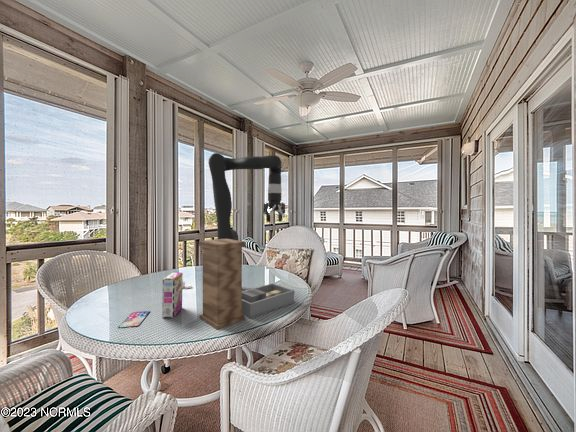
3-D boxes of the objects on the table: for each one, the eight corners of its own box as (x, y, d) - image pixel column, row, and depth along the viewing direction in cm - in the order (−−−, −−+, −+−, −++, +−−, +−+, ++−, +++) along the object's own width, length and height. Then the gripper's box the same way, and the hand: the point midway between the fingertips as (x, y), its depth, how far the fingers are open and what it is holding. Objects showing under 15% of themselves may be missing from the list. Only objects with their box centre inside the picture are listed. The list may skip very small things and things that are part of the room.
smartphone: (116, 327, 99) (132, 312, 113) (116, 329, 99) (132, 313, 113) (138, 326, 100) (151, 310, 115) (138, 327, 100) (151, 312, 115)
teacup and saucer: (193, 288, 149) (193, 281, 149) (181, 291, 142) (181, 284, 142) (184, 285, 154) (184, 278, 154) (171, 289, 147) (171, 281, 147)
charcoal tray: (250, 318, 108) (250, 304, 108) (229, 307, 120) (229, 294, 119) (294, 302, 126) (294, 290, 126) (272, 294, 138) (272, 283, 138)
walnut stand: (216, 329, 98) (216, 244, 97) (199, 317, 108) (199, 241, 107) (245, 319, 108) (245, 241, 106) (226, 309, 118) (226, 238, 116)
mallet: (251, 310, 114) (252, 296, 114) (241, 305, 120) (241, 292, 120) (285, 299, 128) (285, 287, 128) (274, 295, 134) (274, 283, 134)
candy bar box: (174, 318, 108) (174, 278, 108) (162, 318, 108) (161, 278, 107) (183, 307, 119) (182, 271, 119) (171, 307, 119) (171, 272, 118)
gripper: (279, 193, 153) (279, 220, 154) (260, 192, 143) (260, 221, 144) (288, 192, 148) (288, 221, 148) (269, 191, 138) (269, 222, 138)
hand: (274, 221), depth 146 cm, fingers open, 8 cm apart
